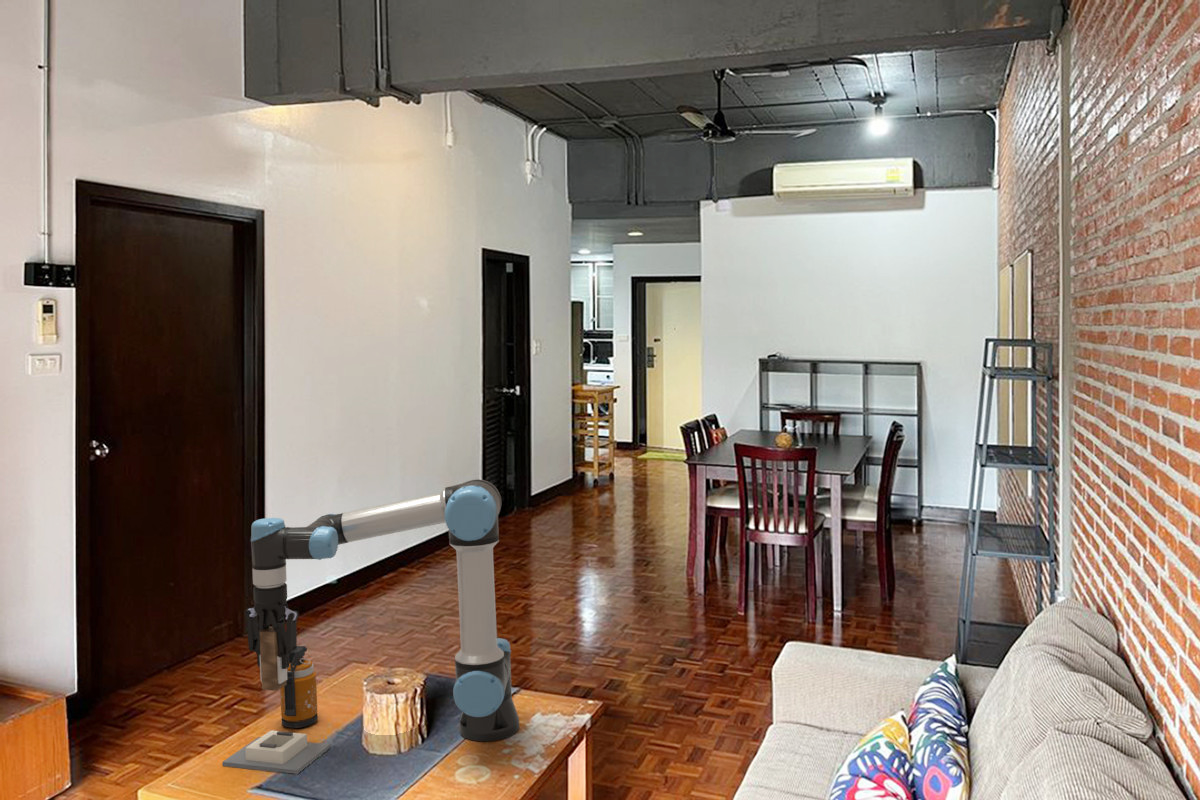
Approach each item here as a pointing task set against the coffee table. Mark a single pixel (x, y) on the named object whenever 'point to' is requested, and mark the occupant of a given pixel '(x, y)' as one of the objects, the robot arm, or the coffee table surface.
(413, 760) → the coffee table surface
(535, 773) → the coffee table surface
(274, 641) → the wooden block
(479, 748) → the coffee table surface
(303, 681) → the canister
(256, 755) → the grey plate
